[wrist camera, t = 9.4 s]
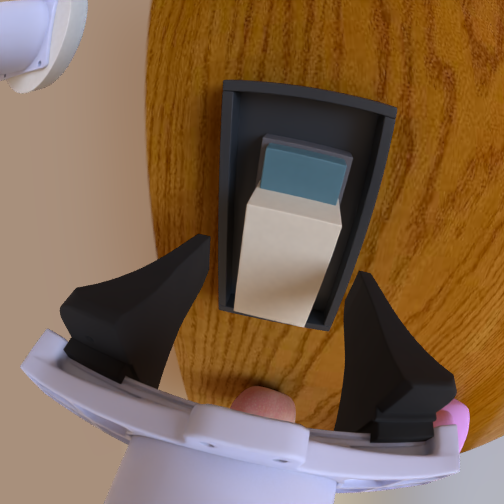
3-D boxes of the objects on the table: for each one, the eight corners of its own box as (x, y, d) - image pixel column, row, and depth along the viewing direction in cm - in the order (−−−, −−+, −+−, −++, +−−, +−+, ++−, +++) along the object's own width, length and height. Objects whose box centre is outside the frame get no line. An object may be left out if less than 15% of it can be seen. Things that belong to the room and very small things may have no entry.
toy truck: (310, 285, 20) (305, 332, 16) (246, 270, 20) (229, 314, 17) (350, 152, 14) (362, 177, 10) (266, 133, 14) (248, 152, 11)
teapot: (387, 379, 26) (387, 480, 16) (489, 361, 22) (507, 448, 12) (370, 433, 36) (365, 496, 27) (444, 422, 32) (447, 482, 22)
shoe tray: (233, 79, 13) (222, 79, 12) (388, 104, 12) (397, 108, 11) (225, 292, 23) (218, 310, 21) (329, 313, 22) (328, 331, 20)
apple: (234, 367, 30) (214, 428, 23) (301, 375, 28) (290, 441, 22) (242, 396, 34) (227, 447, 28) (298, 403, 32) (288, 457, 26)
